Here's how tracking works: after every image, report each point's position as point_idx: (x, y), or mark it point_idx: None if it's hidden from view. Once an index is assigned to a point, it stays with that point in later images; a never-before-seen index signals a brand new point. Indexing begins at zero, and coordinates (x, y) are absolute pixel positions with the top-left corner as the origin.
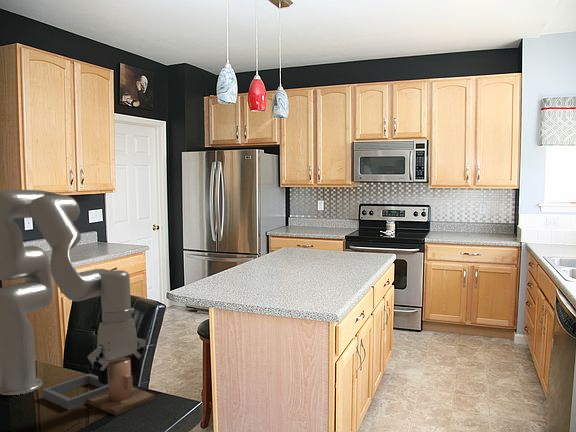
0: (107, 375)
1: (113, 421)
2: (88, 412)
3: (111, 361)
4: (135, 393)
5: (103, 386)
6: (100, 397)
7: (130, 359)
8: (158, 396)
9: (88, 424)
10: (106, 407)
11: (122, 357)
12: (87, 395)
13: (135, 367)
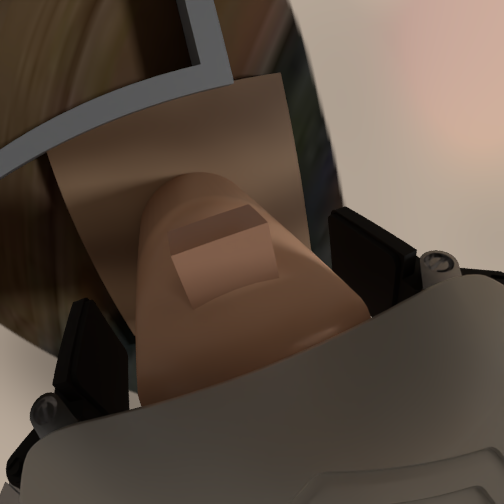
0: (128, 394)
1: (135, 365)
2: (52, 251)
3: (188, 382)
4: None
5: (146, 81)
6: (106, 175)
7: (387, 262)
8: (329, 261)
9: (60, 345)
10: (117, 307)
11: (344, 304)
12: (42, 152)
13: (352, 289)
